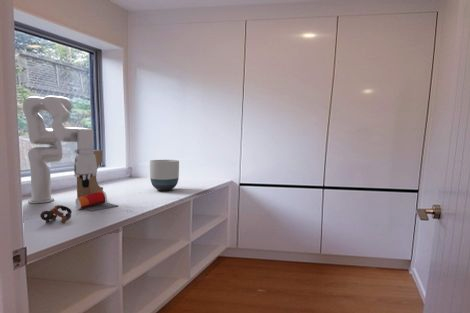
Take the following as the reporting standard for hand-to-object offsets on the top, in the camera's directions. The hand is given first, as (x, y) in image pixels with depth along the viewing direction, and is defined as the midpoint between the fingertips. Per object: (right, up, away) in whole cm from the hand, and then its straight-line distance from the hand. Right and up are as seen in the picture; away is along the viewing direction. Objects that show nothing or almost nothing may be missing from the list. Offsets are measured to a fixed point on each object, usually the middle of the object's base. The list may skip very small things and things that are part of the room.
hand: (85, 187), depth 156 cm
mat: (+4, -11, +5) cm, 13 cm away
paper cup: (-3, -8, -1) cm, 9 cm away
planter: (+27, -9, +59) cm, 66 cm away
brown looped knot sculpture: (-1, -13, -24) cm, 28 cm away
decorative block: (-6, -11, +18) cm, 22 cm away
